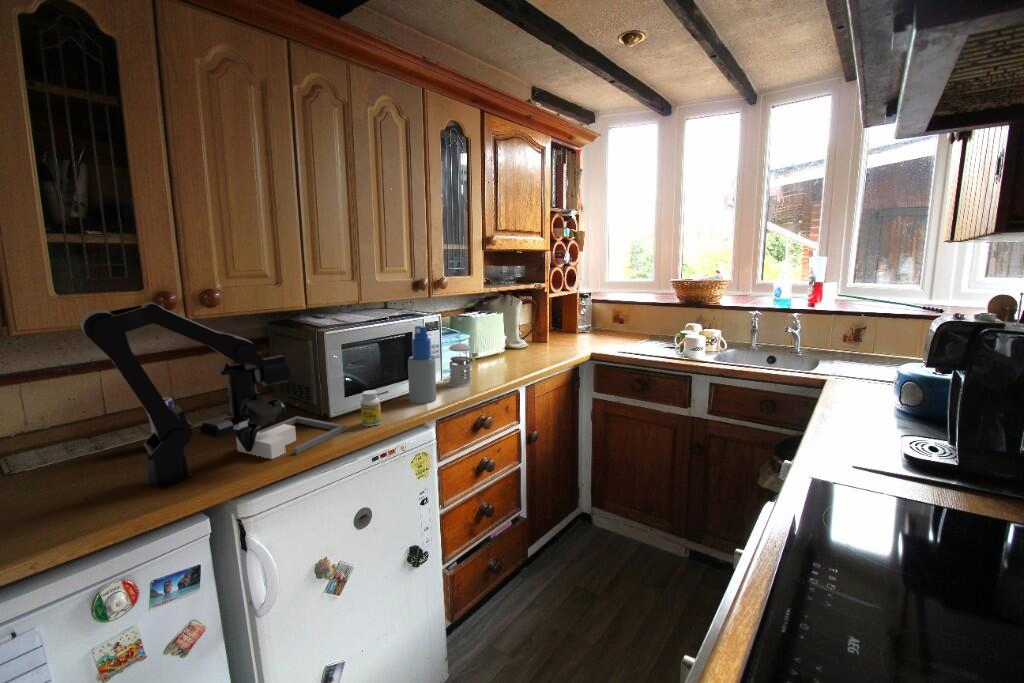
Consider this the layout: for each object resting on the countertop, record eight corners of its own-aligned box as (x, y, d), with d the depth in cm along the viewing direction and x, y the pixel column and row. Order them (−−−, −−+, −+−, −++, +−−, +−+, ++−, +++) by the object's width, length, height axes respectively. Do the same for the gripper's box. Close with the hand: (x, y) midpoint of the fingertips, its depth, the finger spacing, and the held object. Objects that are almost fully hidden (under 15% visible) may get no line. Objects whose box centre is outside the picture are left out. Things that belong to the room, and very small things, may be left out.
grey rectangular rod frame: (297, 454, 120) (296, 448, 120) (244, 442, 127) (244, 436, 127) (346, 430, 136) (345, 425, 136) (297, 420, 143) (296, 416, 143)
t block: (272, 459, 117) (270, 444, 117) (237, 451, 122) (235, 436, 121) (307, 443, 127) (306, 428, 127) (274, 435, 132) (273, 421, 131)
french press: (442, 385, 180) (440, 318, 175) (457, 377, 191) (456, 314, 186) (465, 388, 176) (464, 320, 171) (480, 380, 187) (479, 316, 182)
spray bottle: (426, 405, 158) (424, 329, 153) (403, 401, 161) (401, 327, 156) (441, 397, 166) (439, 325, 161) (418, 394, 169) (416, 323, 164)
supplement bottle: (382, 420, 144) (381, 389, 142) (379, 426, 139) (378, 394, 137) (363, 420, 144) (362, 389, 142) (360, 427, 138) (358, 395, 137)
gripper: (229, 405, 104) (237, 473, 107) (299, 383, 120) (303, 443, 123) (195, 398, 108) (203, 464, 111) (267, 378, 125) (272, 436, 128)
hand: (249, 451), depth 118 cm, fingers closed
